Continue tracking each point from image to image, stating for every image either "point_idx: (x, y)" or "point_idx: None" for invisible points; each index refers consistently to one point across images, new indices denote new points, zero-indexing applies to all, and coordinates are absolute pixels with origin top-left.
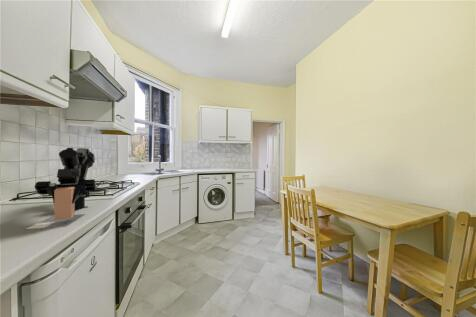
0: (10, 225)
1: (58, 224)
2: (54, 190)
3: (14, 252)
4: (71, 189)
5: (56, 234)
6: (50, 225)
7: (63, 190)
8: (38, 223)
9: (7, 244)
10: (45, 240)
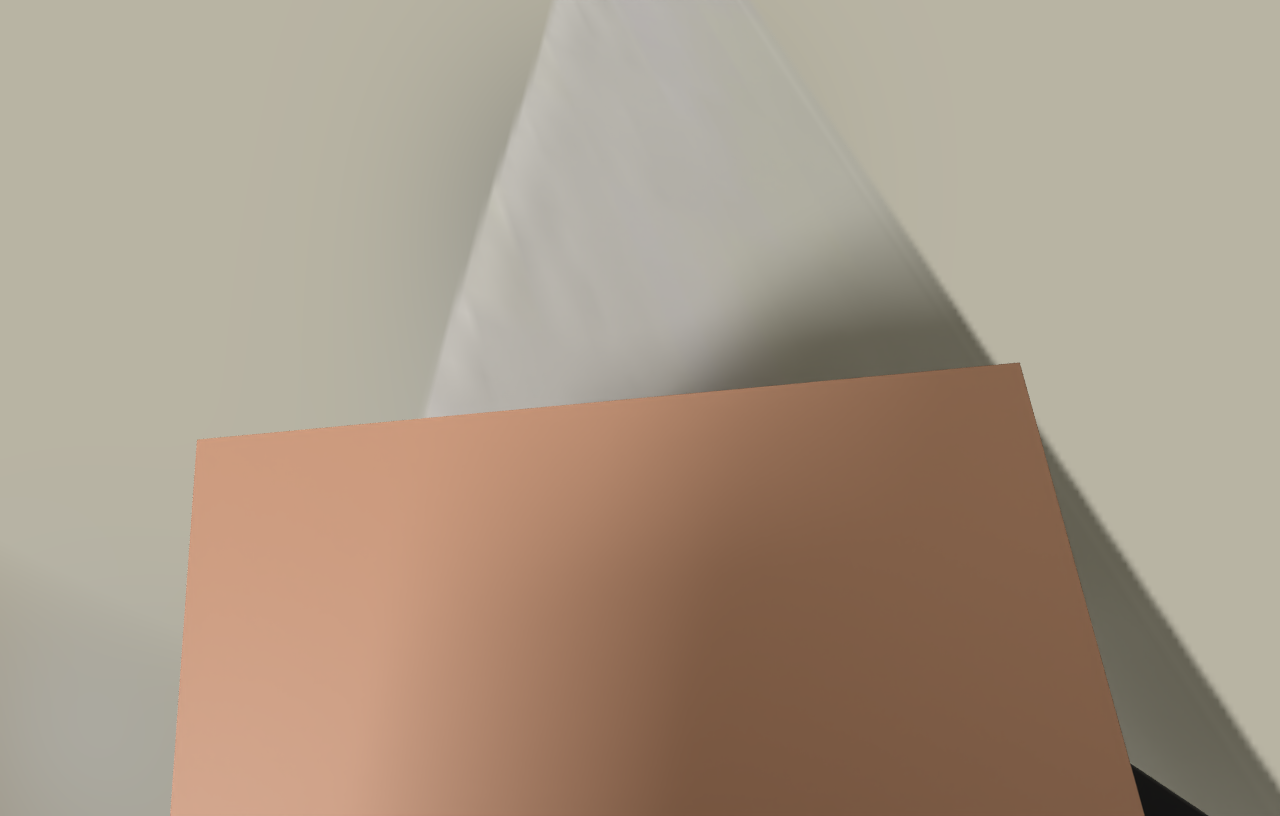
0: (1233, 796)
1: None
2: (994, 372)
3: (732, 46)
4: (219, 447)
5: (590, 283)
6: None
7: (613, 424)
8: None
9: (872, 206)
10: (624, 176)
